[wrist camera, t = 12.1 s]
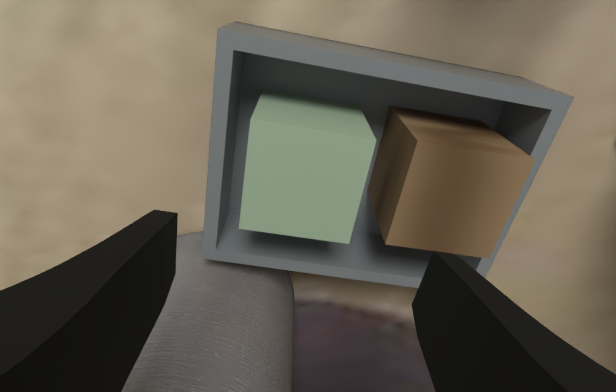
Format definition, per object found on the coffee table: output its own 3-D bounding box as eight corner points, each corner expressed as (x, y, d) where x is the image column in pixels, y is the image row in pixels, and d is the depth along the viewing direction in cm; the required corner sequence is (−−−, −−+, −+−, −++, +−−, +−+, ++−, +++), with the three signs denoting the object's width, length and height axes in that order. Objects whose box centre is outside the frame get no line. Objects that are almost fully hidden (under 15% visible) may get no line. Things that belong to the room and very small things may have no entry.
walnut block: (480, 120, 19) (535, 160, 14) (449, 202, 21) (489, 258, 16) (389, 105, 18) (417, 141, 14) (367, 189, 20) (385, 244, 16)
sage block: (358, 104, 18) (376, 140, 14) (339, 189, 20) (348, 244, 16) (263, 88, 18) (250, 119, 13) (252, 176, 20) (238, 228, 15)
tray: (521, 77, 18) (574, 97, 15) (449, 249, 23) (475, 296, 19) (235, 21, 17) (217, 28, 14) (218, 215, 22) (201, 258, 18)
